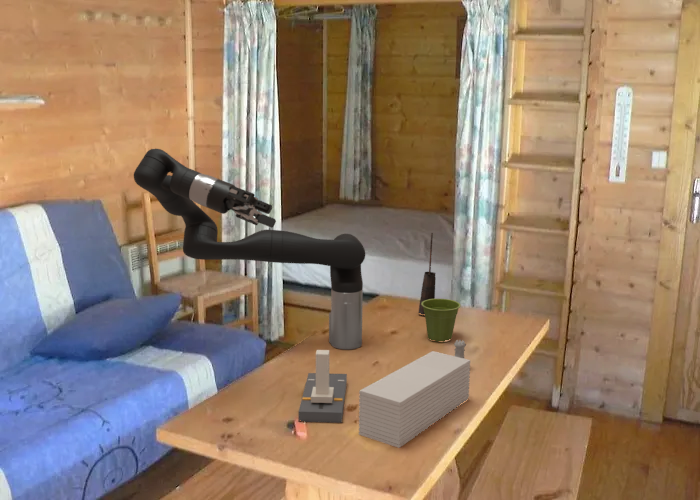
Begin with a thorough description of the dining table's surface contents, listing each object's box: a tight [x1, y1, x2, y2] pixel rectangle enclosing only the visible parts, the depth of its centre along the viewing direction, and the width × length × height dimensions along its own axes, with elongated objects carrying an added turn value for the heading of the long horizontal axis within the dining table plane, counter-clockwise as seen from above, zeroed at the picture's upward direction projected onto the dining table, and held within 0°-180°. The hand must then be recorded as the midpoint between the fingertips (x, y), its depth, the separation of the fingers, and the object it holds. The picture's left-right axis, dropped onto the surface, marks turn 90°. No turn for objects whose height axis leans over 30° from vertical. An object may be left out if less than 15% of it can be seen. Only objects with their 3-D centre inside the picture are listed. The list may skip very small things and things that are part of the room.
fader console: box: [298, 372, 348, 424], centre depth 189 cm, size 24×10×3 cm, turn 178°
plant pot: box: [421, 298, 462, 342], centre depth 235 cm, size 12×12×11 cm
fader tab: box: [311, 349, 334, 403], centre depth 183 cm, size 6×5×12 cm
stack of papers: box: [358, 350, 471, 449], centre depth 180 cm, size 32×11×11 cm, turn 144°
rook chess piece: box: [453, 339, 467, 359], centre depth 211 cm, size 4×4×8 cm
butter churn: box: [418, 232, 436, 314], centre depth 257 cm, size 9×10×28 cm
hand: (272, 217), depth 185 cm, fingers open, 8 cm apart
